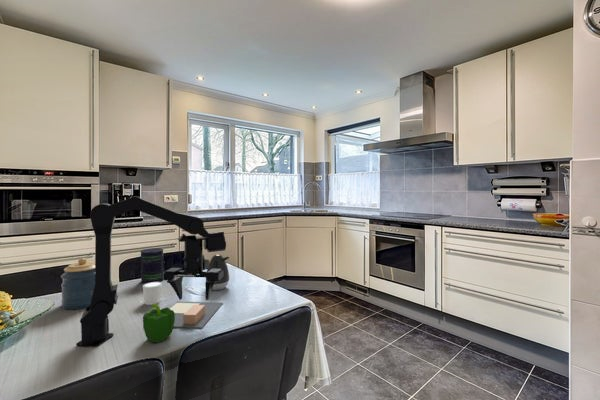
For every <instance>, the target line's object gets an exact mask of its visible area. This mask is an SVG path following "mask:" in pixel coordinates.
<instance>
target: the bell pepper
mask: <svg viewBox="0 0 600 400" xmlns="http://www.w3.org/2000/svg"><path fill="white" fill-rule="evenodd" d="M150 307H151V308H152V309H151V310H150V311H148V312H145V313H144V314H143V317H142V324H143V325H142V326H143V331H144V334H145V337H146V338H147V339H148V340H149V341H150V342H151V343H161V342H164V341H165V340H166V339H167V338H168V337H170V336H171V335H172V333H173V331H174V330H173V329H174V328H173V326H174V321H175V313H174V311H173V310H170V309H169V308H170V307H164V308H162V309H161V308H160V306H159V305H158V303H157V304H151V305H150Z"/></svg>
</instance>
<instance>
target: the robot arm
mask: <svg viewBox="0 0 600 400" xmlns="http://www.w3.org/2000/svg"><path fill="white" fill-rule="evenodd" d="M131 211H138V212H141V213H144V214H146V215H149V216H152V217H155V218H157V219H160V220H163V221H165V222H168V223H171V224H173V225H175V227H178V228H180V229H182V230H184V231H185V232H186V233H189V234H190V235H186V233H182V234H181V236H179V238H177V240H178V242H180V243H182V242H184V257H183V258H182V262H184V270H183V267H170V268H169V269H167V270H165V271H163V272H164V274H163V281H166V283H167V284H169V285H170V286H171V287H172V288H173V289H172V290H174V292H175V295H177V298H178V299H179V300H182V299H183V278H205V280H206V279H207V280H208V281H207V282H206V281H205V283H204V285H205V300H206V301H209V299H210V296H211V293H212V288H213V285H214V284H215V283H216V282H217V281H219V280H220V279H221V278H222V277H224V272H223V270H222V269H211V270H209V271H208V272H207V269H209V262H210V260H209V259H207V258H206V259H205V254H204V253H203V251H204V250H206V252H207V253H215V252H223V251H226V247H227V241H226V236H225V232H224V231H223V230H220V231H216V232H209V231H208V230H207V229H206V228H205V227H204V226H205V225H204V224H205V223H204V221H203V219H201V218H200V217H197V216H196V215H192V214H186V213H181V212H178V211H177V212H176V211H173V210H171V209H169V208H165V207H163V206H161V205H158V204H156V203H152V202H151V201H148V200H147V199H146V200H145V199H143V198H141V197H140V196H136V195H135V196H131V197H129V198H127V199H122V200H121V201H117V202H115V203H111V204H109V203H107V202H106V203H99V204H97V205H95V206H93V207H92V209H91V210H90V213H89V218H90V220H91V222H90V223H91V226H92V229H93V233H94V237H95V244H94V245H95V247H94V248H95V249H94V250H95V253H94V255H95V257H94V258H95V259H94V262H95V287H94V291H93V295H92V299H91V303H90V305H89V306H88V307H86V308H84V311H83V313H82V316H81V317H80V320H79V323H80V329H81V330H80V333H81V338H80V339H81V340H80V341H77V343H76V346H78V347H79V346H83V347H98V346H101V345H102V344H103V343H105V342H106V341H107V340H109V339H110V338H112V337H113V336H114V332H113V333H112V332H110V327H109V326H110V325H109V324H110V323H109V314H111V313H112V312H113V310H114V307H115V305H117V304H118V298H119V295H118V294H117V291H118V286H119V285H118V284H114V285H113V283H112V279H111V278H112V231H113V229H114V224H115V220H116V217H119V216H120V215H124V214H126V213H128V212H131ZM196 235H199V236H201V237H199V236H198V237H197V236H196ZM203 249H204V250H203Z"/></svg>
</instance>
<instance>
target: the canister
mask: <svg viewBox="0 0 600 400" xmlns="http://www.w3.org/2000/svg"><path fill="white" fill-rule="evenodd" d="M63 271H64V273H62V274H61V275H60V278H61V279H62V283H61V285H60V286H61V306H62V308H63V309H64V310H80V309H86V308H87V307H88V306H89V305H90V303H91V299H92V295H93V291H94V287H95V261H92V260H90V261H87V258H85V257H82V258H79V259H78V261H77V262H74V263H70V264H69V265H67V267H65V268H63Z"/></svg>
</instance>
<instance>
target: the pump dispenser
mask: <svg viewBox="0 0 600 400" xmlns="http://www.w3.org/2000/svg"><path fill="white" fill-rule="evenodd" d="M229 257H230V256H225V257H224V256H223V255H222V254H214V255H213V256H212V257H211V258H210V260H209V269H206V272H208V271H209V270H211V269H222V270H223V272H224V277H222V278H221V279H220V280H219V281H217V282H216V283H215V284H214V285H213V288H212V290H213V291H220V290H223V289H225V288H226V287H227V286H228V284H229V281H230V272H229V271H230V270H229V267H228V265H227V262H226V261H228V260H229V259H230V258H229ZM207 281H208V280H207V279H206V278H205V282H207Z"/></svg>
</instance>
